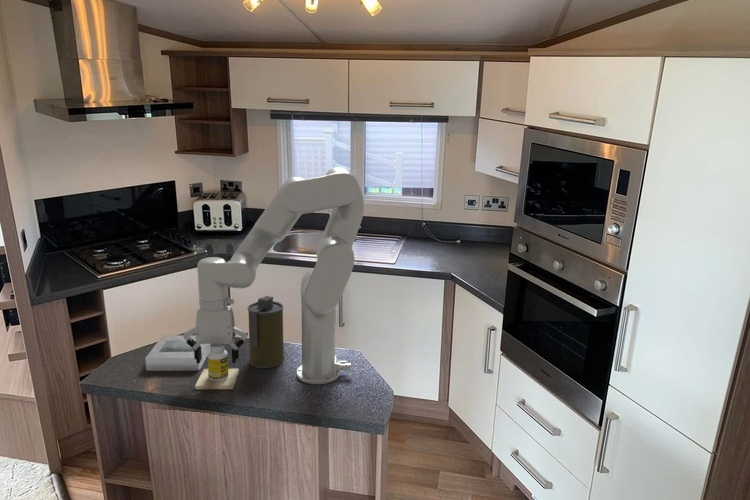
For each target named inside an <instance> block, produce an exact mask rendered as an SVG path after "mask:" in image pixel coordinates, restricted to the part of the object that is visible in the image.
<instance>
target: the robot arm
mask: <svg viewBox="0 0 750 500" xmlns="http://www.w3.org/2000/svg"><path fill="white" fill-rule="evenodd" d="M330 209H331V212H330V214H329V217H328V221H327V223H326V226H325V229H324V230H323V233H322V235H321V237H320V240H319V241H318V244H317V246H316V250H315V251H316V259H317V260H316V262H315V265H314V267H313V268H311V269H309V270H307V272H305V273H304V274H303V276H302V278H301V282H300V296H301V298H300V300H301V301H300V302H301V305H300V306H301V365H300V366H298V367H297V369H296V377H297V379H298V380H299V381H301V382H303V383H305V384H310V385H324V384H325V385H326V384H329V383H332V382H334V381H336V380H337V379H338V378H339V377H340V375H341V371H351V368H352V366H351V365H352V363H347V360H338V359H337V355H336V312H337V311H336V307H337V306H338V304H339V303H340V300H341V298H342V297H343V294H344V291H345V289H346V287H347V284H348V282H349V279H350V277H351V275H352V272H353V269H354V266H355V253H354V250H353V245H354V242H355V239H356V237H357V235H358V233H359V232H358V231H359V229H360V227H361V223H362V221H363V217H364V211H365V203H364V196H363V191H362V189H361V186H360V184H359V181H358V179H357V177H356V176H355V175H354V174H353V173H351V171H350V170H348V169H346V168H345V167H341V166H338V167H333V168H331V169H329V170H327V172H326V173H325V174H324V175H322V176H317V177H311V178H307V179H306V178H303V177H300V176H292V177H289V178H288V179H286V180H285V181H284V182H283V184H282V185H281V186H280V187H279V189H278V191H277V192H276V193H275V195H274V196H273V198H272V199H271V201H270V202H269V203H268V205H267V206H266V208H265V209H264V211H263V212H262V214H260V216H259V218H258V219H257V221H255V223H254V225H253V227H252V228H251V229H250V231H249V232H248V234H247V235H246V236H245V238H244V239H243V240H242V242H241V243H240V245H239V246H238V247H237V249H236V250H235V252H234V253H233V254H232V257H231V258H230V260H229V261H228V262H227V261H226V260H225V259H224V258H222V257H219V256H218V257H216V256H212V257H204V258H202V259H200V260H199V261H198V263H197V267H196V268H197V269H196V270H197V283H198V284H197V285H198V300H199V301H198V302H199V306H198V307H197V310H196V316H195V327H193V328H191V329H189V330H187V331H185V332H184V333H183V334H182V335H183V337H184V339H185V340H186V341H187V344H188V345H189V346H191V347H192V349H193V350H194V358H195V359H196V362H197V364H199V363H200V361H201V359H202V352H201V346H200V345H201V344H225V345H229V346H231V347H230V348H232V349H231V362H232V364H236V362H237V360H239V357H240V356H239V354H240V352H239V351H240V350H239V349H240V347H242V345H244V343H245V341H246V339H247V337H248V336H249V332H247V331H245V330H243V329H241V328H239V327H236V322H235V316H234V310H233V307H232V305H234V303H235V300H234V298H233V299H232V298H230V297H229V296H230V295H229V289H228V288H232V289H246V288H249V287H251V285H253V284H254V282H255V280H256V276H257V269H258V267H259V266H260V265H261V263H262V261H263V260H264V258H265V257H266V255H267V254H268V253H269V252H270V251H271V249H272V248H273V247H274V246H276V244H278V243H280V242H282V241H284V239H285V238H286V237H287V236H288V234H289V233H290V232H291V230H292V229H293V227H294V225H295V224H296V223H297V221H298V219H299V218H300V217H301V216H302V215H304V214H312V213H316V212H321V211H325V210H330ZM194 334H195V335H196V341H194V340H193V339H192V338H191V337H190V335H194ZM236 335H238V336H240V339H239V340H238V339H236V338H235V337H236Z"/></svg>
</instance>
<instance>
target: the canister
mask: <svg viewBox="0 0 750 500" xmlns="http://www.w3.org/2000/svg"><path fill="white" fill-rule="evenodd" d="M273 299H274V296H269V295H265V296H263V297H260V298H259V297H258V299H257V301H255V302H253V303H250V304H249V305H248V306H247V311H248V331H249V332H248V336H249V338H248V339H249V361H248V362H249V364H250V365H251V366H252V367H255V368H258V369H270V368H274V367H275V368H276V367H277V366H280V365H282V364H283V363H284V362H285V357H284V354H285V353H284V313H283V312H284V311H283V310H284V305H283V304H282V303H281V302H279V301H275V300H273Z"/></svg>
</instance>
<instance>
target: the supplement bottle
mask: <svg viewBox="0 0 750 500" xmlns="http://www.w3.org/2000/svg"><path fill="white" fill-rule="evenodd" d="M207 369H208V377H209V379H210V380H213V381H221V380H224V379H226V378H227V377H228V369H229V354H228V351H227V350H226V344H210V351H209V353H208V355H207Z"/></svg>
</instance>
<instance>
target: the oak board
mask: <svg viewBox="0 0 750 500" xmlns="http://www.w3.org/2000/svg"><path fill="white" fill-rule="evenodd" d="M239 373H240V368H228V377H227V378H226V379H224V380H221V381H213V380H210V379H209V377H208V368H203V369H202V371H201V374H200V375H199V377H198V379H197V381H196V383H195V385H194V389H195V390H234V387H235V384H236V381H237V378H238V376H239Z"/></svg>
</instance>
